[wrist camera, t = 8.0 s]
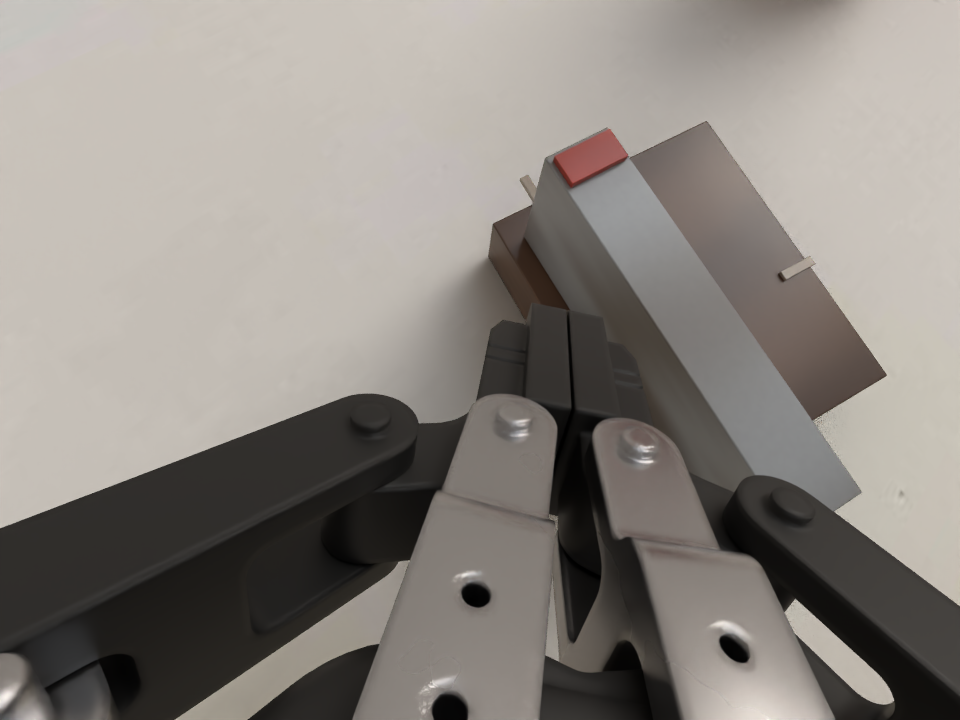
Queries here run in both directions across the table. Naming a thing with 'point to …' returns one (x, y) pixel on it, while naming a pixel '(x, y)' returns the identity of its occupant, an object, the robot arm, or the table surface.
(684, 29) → the table surface
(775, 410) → the red-tipped metal brick
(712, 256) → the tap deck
